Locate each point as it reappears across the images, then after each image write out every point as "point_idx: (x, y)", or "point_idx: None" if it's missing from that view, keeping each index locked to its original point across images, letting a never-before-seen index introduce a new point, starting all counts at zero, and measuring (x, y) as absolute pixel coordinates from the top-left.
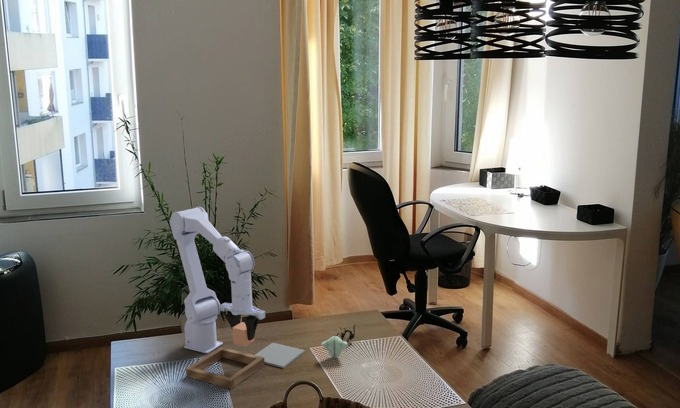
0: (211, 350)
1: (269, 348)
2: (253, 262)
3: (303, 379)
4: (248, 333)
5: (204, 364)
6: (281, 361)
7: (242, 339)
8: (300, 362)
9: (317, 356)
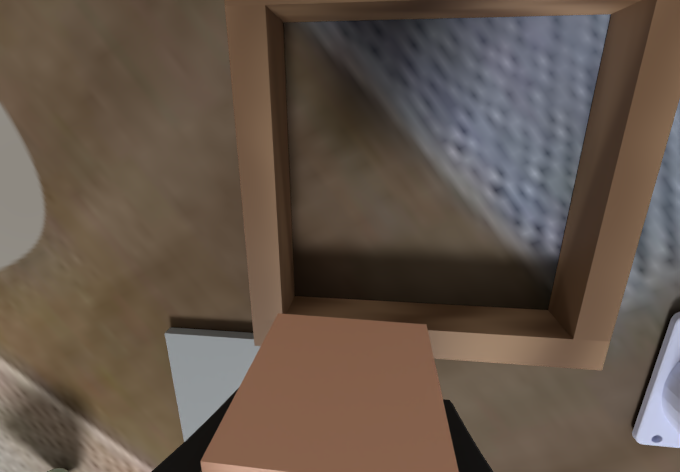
0: (663, 349)
1: None
2: None
3: (21, 271)
4: (202, 440)
5: (602, 142)
6: (207, 370)
7: (295, 358)
8: (147, 397)
9: (128, 460)
